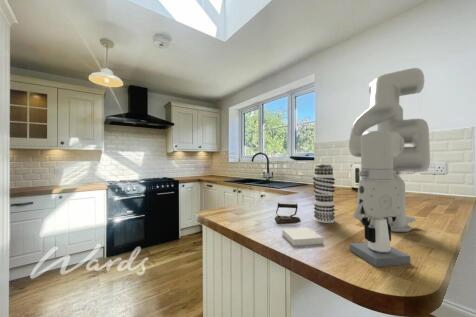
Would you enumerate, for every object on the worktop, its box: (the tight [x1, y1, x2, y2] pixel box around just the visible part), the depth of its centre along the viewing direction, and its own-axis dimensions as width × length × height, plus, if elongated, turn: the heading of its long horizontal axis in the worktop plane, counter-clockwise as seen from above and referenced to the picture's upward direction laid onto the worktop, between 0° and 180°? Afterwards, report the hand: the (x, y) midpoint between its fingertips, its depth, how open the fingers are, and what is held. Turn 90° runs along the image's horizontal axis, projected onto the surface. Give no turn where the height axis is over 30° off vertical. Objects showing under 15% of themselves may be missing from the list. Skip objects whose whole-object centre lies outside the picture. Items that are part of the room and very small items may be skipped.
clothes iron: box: [274, 202, 301, 225], centre depth 94 cm, size 7×11×10 cm, turn 90°
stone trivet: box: [281, 227, 324, 247], centre depth 73 cm, size 10×10×2 cm
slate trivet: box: [349, 241, 411, 268], centre depth 59 cm, size 10×10×2 cm
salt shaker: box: [367, 217, 392, 252], centre depth 59 cm, size 5×5×11 cm
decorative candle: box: [312, 163, 336, 224], centre depth 95 cm, size 9×9×25 cm
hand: (377, 239), depth 59 cm, fingers closed on salt shaker, 4 cm apart
